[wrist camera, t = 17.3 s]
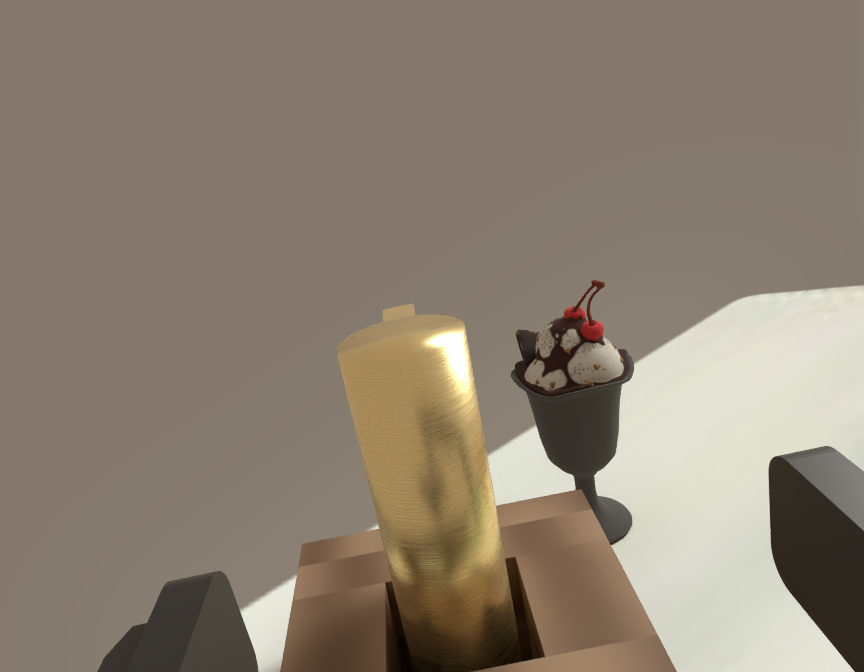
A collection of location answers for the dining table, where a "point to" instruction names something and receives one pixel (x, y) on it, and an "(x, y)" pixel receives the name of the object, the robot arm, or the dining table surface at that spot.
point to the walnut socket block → (530, 589)
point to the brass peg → (432, 489)
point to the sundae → (577, 401)
